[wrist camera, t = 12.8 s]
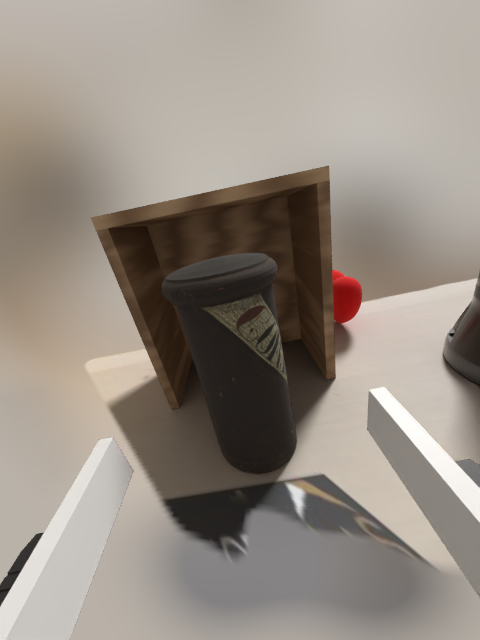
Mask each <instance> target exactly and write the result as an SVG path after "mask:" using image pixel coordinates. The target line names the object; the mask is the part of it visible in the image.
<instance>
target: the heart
mask: <svg viewBox="0 0 480 640" xmlns="http://www.w3.org/2000/svg"><path fill="white" fill-rule="evenodd" d="M332 278H333V310H334V320H335V321H336V322H337V323H338V324H340V323H345V322H347V321H349V320H351V319H352V318H353V317H354V316H355V315H356V314H357V312H358V310H359V308H360V305H361V300H362V289H361V285H360V284H359V282H358V281H357V280H355V279H354V278H351V277H345V276H344V275H343V274H342V273H340V272H339V271H336V270H332Z"/></svg>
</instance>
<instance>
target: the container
mask: <svg viewBox="0 0 480 640" xmlns="http://www.w3.org/2000/svg"><path fill="white" fill-rule="evenodd" d="M276 274H277V265H276V262H275V261H274V260H273V259H272V258H270V257H268V256H267V255H266V254H263V253H241V254H232V255H226V256H220V257H215V258H211V259H207V260H204V261H200V262H197V263H194V264H191V265H188V266H185V267H183V268H180V269H178V270H176V271H174V272H172V273H170V274H169V275H168V276H167V277H166V279H165V280H164V282H163V283H162V293H163V295H164V296H165V298H166V299H167V300H169V301H170V302H171V303H172V304H173V305H175V306H177V310H178V313H179V316H180V319H181V322H182V325H183V328H184V331H185V334H186V338H187V341H188V344H189V347H190V350H191V353H192V357H193V360H194V363H195V367H196V370H197V373H198V376H199V379H200V382H201V386H202V389H203V392H204V395H205V398H206V402H207V405H208V408H209V412H210V415H211V418H212V422H213V425H214V428H215V432H216V435H217V438H218V442H219V445H220V447H221V450H222V453H223V455H224V457H225V458H226V460H227V461H228V462H229V463H230V464H231V465H232V466H234V467H235V468H237V469H239V470H241V471H245V472H249V473H264V472H269V471H272V470H275V469H277V468H278V467H280V466H282V465H283V464H284V463H285V462H287V461H288V459H289V458H290V457H291V456H292V454H293V453H294V451H295V448H296V443H297V436H296V430H295V423H294V418H293V412H292V405H291V400H290V393H289V387H288V381H287V375H286V368H285V362H284V356H283V350H282V344H281V338H280V332H279V325H278V318H277V312H276V305H275V298H274V292H273V286H272V284H273V282H274V278H275V277H276Z"/></svg>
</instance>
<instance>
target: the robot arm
mask: <svg viewBox="0 0 480 640" xmlns="http://www.w3.org/2000/svg"><path fill="white" fill-rule="evenodd" d="M443 353H444V357H445V359H446V361H447V362H448V363H449V364H450V366H451V367H452V368H454V369H455V370H456V371H457V372H459V373H460V374H461V375H463V376H464V377H466V378H467V379H469V380H471V381H473V382H475V383H476V384H478V385H480V272H479V276H478V280H477V284H476V288H475V293H474V297H473V299H472V301H471V303H470V304H469V305H468V307H467V308H466V309H465V311H464V312H463V313H462V315H461V316H460V318H459V319H458V320H457V322H456V323H455V325H454V327H453V328H452V329H451V330H450V331H449V333H448V334H447V336H446V340H445V345H444V350H443ZM367 430H368V431H369V433H370V434H371V436H372V437H373V439H374V440H375V442H376V443H377V445H378V446H379V448H380V449H381V451H382V452H383V454H384V455H385V457H386V458H387V460H388V461H389V463H390V464H391V466H392V467H393V469H394V470H395V472H396V473H397V475H398V476H399V478H400V479H401V481H402V482H403V484H404V485H405V487H406V488H407V490H408V491H409V493H410V494H411V496H412V497H413V499H414V500H415V502H416V503H417V505H418V506H419V508H420V509H421V511H422V512H423V514H424V515H425V517H426V518H427V520H428V521H429V523H430V524H431V526H432V527H433V529H434V530H435V532H436V533H437V535H438V536H439V538H440V539H441V541H442V542H443V544H444V545H445V546H446V548H447V549H448V551H449V552H450V554H451V555H452V557H453V558H454V560H455V561H456V563H457V564H458V566H459V567H460V569H461V570H462V572H463V573H464V575H465V576H466V578H467V579H468V581H469V582H470V584H471V585H472V587H473V588H474V590H475V591H476V593H477V594H478V596H479V597H480V465H478V464H477V463H475V462H474V461H472V460H471V459H467V460H461V461H454V460H453V459H452V458H451V457H450V456H449V455H448V454H447V453H446V452H445V451H444V450H443V449H442V448H441V446H440V445H439V444H438V443H437V442H436V441H435V440H434V439H433V438H432V437H431V436H430V435H429V434H428V433H427V432H426V431H425V430H424V428H423V427H422V426H421V425H420V424H419V423H418V422H417V421H416V420H415V419H414V418H413V417H412V416H411V415H410V414H409V413H408V411H407V410H406V409H405V408H404V407H403V406H402V405H401V404H400V403H399V402H398V401H397V400H396V399H395V398H394V397H393V396H392V395H391V393H390V392H389V391H388V390H387V389H386V388H385V387H382V388H377V389H371V390H369V400H368V423H367ZM132 474H133V469H132V468H131V466H130V464H129V462H128V461H127V459H126V457H125V456H124V454H123V452H122V451H121V449H120V447H119V446H118V444H117V442H116V441H115V439H114V437H111V438H106V439H100V440H99V441H98V442H97V444H96V446H95V447H94V449H93V451H92V452H91V454H90V456H89V458H88V459H87V461H86V463H85V464H84V466H83V468H82V469H81V471H80V473H79V474H78V476H77V478H76V479H75V481H74V483H73V484H72V486H71V488H70V490H69V491H68V493H67V495H66V496H65V498H64V500H63V501H62V504H61V505H60V507H59V508H58V510H57V512H56V513H55V515H54V517H53V518H52V520H51V522H50V523H49V525H48V527H47V529H46V530H45V532H44V533H39V534H36V535H35V536H34V538H33V539H32V540H31V541H30V542H29V543H28V544H27V546H26V547H25V548H24V549H23V550H22V551H21V553H20V555H19V556H18V557H17V559H16V561H15V562H14V564H13V566H12V567H11V569H10V570H9V572H8V575H7V577H5V578H4V580H3V581H2V583H1V585H0V640H70V638H71V635H72V632H73V630H74V627H75V625H76V622H77V619H78V617H79V614H80V611H81V609H82V606H83V603H84V601H85V598H86V595H87V593H88V590H89V587H90V585H91V582H92V580H93V577H94V574H95V572H96V569H97V566H98V564H99V561H100V558H101V556H102V553H103V551H104V548H105V545H106V542H107V540H108V537H109V535H110V532H111V529H112V527H113V524H114V522H115V519H116V516H117V514H118V511H119V508H120V506H121V503H122V500H123V497H124V495H125V492H126V490H127V487H128V485H129V482H130V479H131V477H132Z"/></svg>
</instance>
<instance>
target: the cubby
mask: <svg viewBox="0 0 480 640" xmlns="http://www.w3.org/2000/svg"><path fill="white" fill-rule="evenodd" d="M330 215H331V214H330V182H329V166H325V167H321V168H316V169H312V170H307V171H302V172H298V173H293V174H289V175H284V176H279V177H275V178H270V179H266V180H261V181H257V182H252V183H247V184H243V185H239V186H234V187H230V188H225V189H220V190H215V191H211V192H207V193H202V194H197V195H193V196H188V197H184V198H180V199H175V200H170V201H165V202H161V203H156V204H152V205H147V206H142V207H138V208H134V209H129V210H124V211H120V212H115V213H111V214H106V215H101V216H97V217H92V218H91V220H92V222H93V224H94V227H95V229H96V231H97V234H98V236H99V239H100V241H101V243H102V246H103V248H104V251H105V253H106V255H107V258H108V260H109V262H110V265H111V267H112V270H113V272H114V274H115V276H116V279H117V281H118V284H119V286H120V289H121V291H122V293H123V296H124V298H125V300H126V303H127V305H128V307H129V310H130V312H131V314H132V317H133V319H134V322H135V324H136V326H137V329H138V331H139V334H140V336H141V338H142V341H143V343H144V345H145V348H146V350H147V353H148V355H149V357H150V360H151V362H152V364H153V367H154V369H155V372H156V374H157V376H158V379H159V381H160V383H161V386H162V388H163V391H164V393H165V395H166V398H167V400H168V402H169V405H170V407H171V409H176V408H180V405H181V401H182V397H183V393H184V389H185V385H186V381H187V377H188V373H189V369H190V365H191V361H192V360H193V357H192V353H191V350H190V347H189V344H188V341H187V338H186V334H185V331H184V328H183V325H182V322H181V319H180V316H179V313H178V310H177V306H175V305H173V304H172V303H171V302H170V301H169V300H167V299H166V298H165V296H164V295H163V293H162V283H163V282H164V280H165V279H166V277H167V276H168V275H169V274H170V273H172V272H174V271H176V270H178V269H180V268H183V267H185V266H188V265H191V264H194V263H197V262H200V261H204V260H207V259H211V258H215V257H220V256H226V255H232V254H241V253H263V254H266V255H267V256H268V257H270V258H272V259H273V260H274V261H275V262H276V265H277V274H276V277H275V278H274V282H273V284H272V286H273V292H274V298H275V305H276V312H277V318H278V325H279V332H280V338H281V343H282V342H288V341H293V340H298V339H302V341H303V342H304V344H305V346H306V347H307V349H308V350H309V352H310V354H311V355H312V357H313V358H314V360H315V361H316V363H317V365H318V366H319V368H320V369H321V371H322V373H323V374H324V376H325V377H326V379H327V380H328V379H333V378H336V375H335V342H334V310H333V278H332V246H331V216H330Z"/></svg>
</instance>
